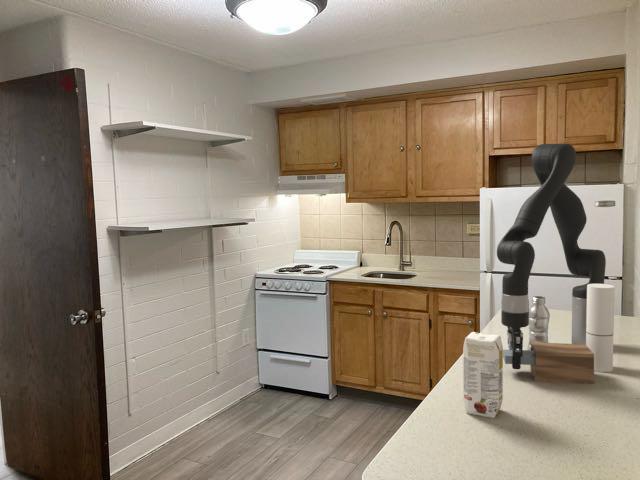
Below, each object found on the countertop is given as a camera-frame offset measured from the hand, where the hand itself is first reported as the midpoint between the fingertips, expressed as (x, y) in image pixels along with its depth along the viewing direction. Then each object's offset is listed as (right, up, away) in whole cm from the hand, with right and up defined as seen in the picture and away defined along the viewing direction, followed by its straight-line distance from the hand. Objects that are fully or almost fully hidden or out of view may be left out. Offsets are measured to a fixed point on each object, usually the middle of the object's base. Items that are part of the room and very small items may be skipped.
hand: (514, 364), depth 152 cm
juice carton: (-17, -6, -24) cm, 30 cm away
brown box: (+12, -3, -3) cm, 13 cm away
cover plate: (+7, +1, -2) cm, 7 cm away
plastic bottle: (+12, -1, +13) cm, 18 cm away
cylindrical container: (+27, -2, +3) cm, 27 cm away
